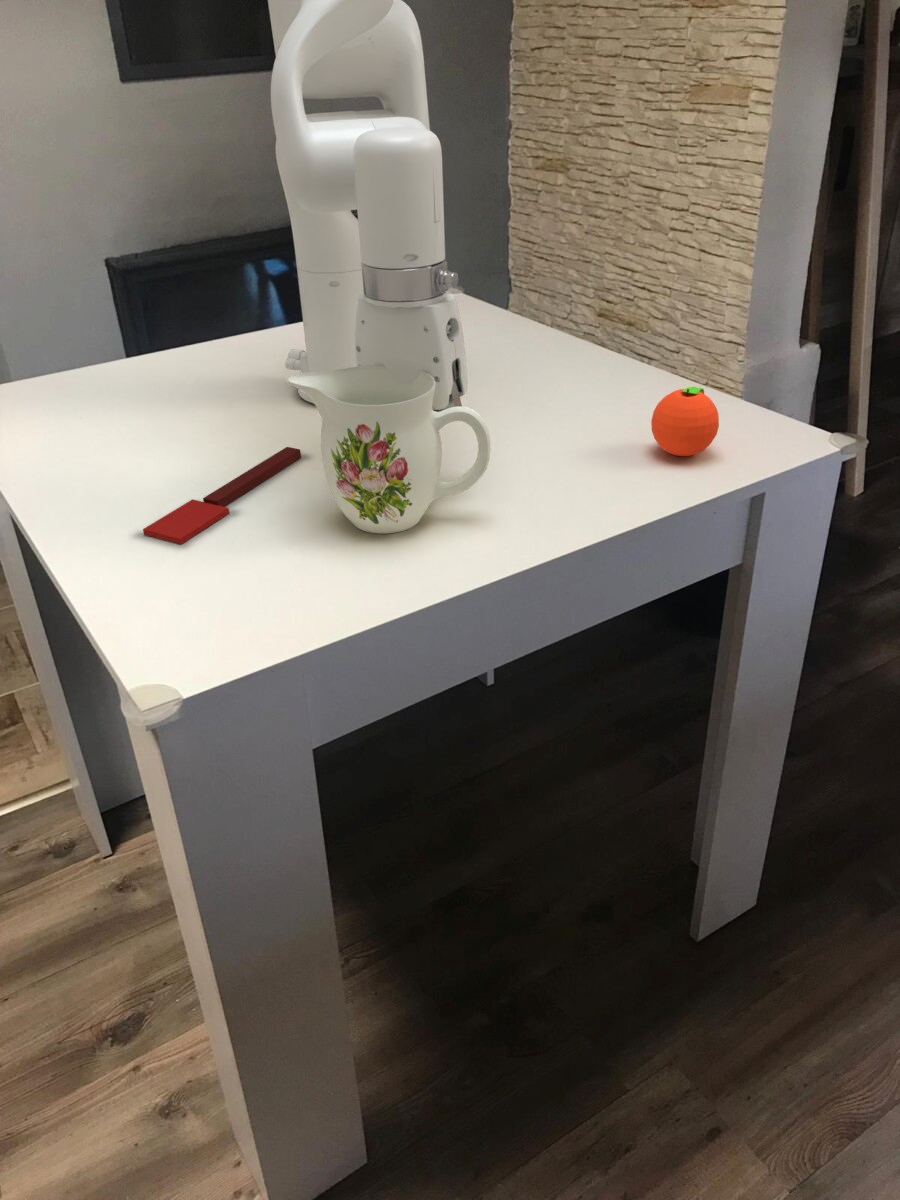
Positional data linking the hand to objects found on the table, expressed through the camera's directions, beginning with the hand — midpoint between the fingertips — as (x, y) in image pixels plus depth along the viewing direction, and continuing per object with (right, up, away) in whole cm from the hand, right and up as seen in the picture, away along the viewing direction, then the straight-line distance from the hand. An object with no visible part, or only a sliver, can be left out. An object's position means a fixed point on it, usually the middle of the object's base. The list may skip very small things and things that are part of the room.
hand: (414, 467), depth 96 cm
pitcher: (-1, -6, -4) cm, 7 cm away
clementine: (+29, +2, +7) cm, 29 cm away
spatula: (-19, -3, +1) cm, 19 cm away
